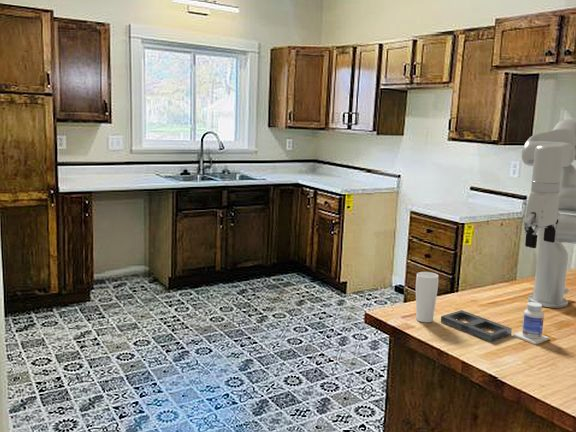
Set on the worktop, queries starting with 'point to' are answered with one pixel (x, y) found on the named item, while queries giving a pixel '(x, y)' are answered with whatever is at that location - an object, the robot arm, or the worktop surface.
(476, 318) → the grey double square frame
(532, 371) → the worktop surface
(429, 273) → the drinking glass
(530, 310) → the pill bottle
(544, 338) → the tile
